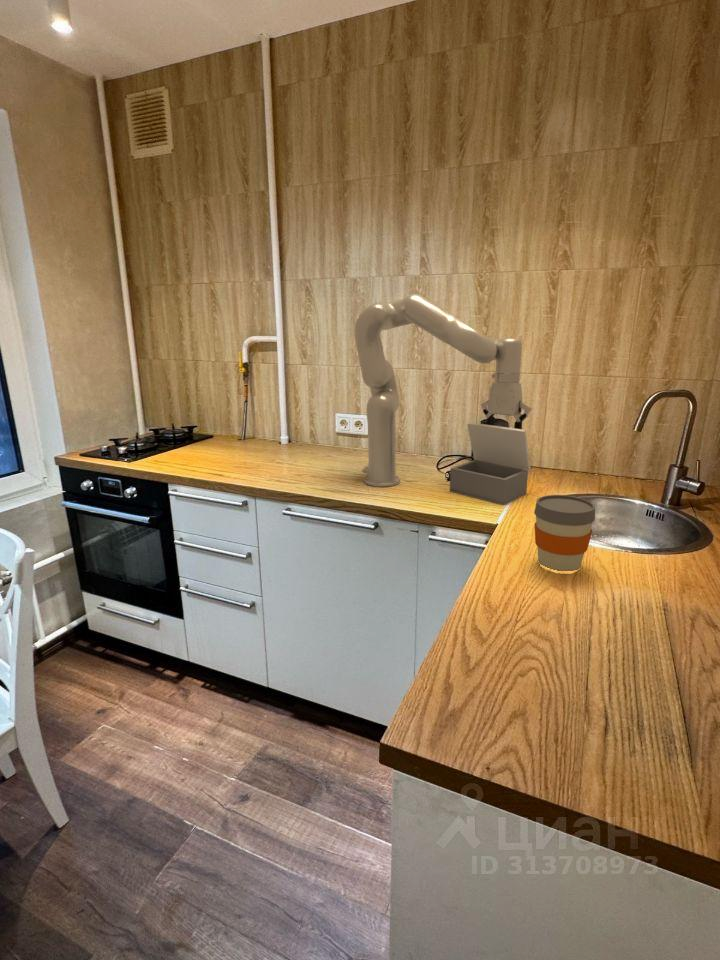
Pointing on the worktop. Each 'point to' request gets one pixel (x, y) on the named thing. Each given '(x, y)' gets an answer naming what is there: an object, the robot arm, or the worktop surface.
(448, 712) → the worktop surface
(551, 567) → the reusable coffee cup
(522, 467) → the lid
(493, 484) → the grey hinged box
